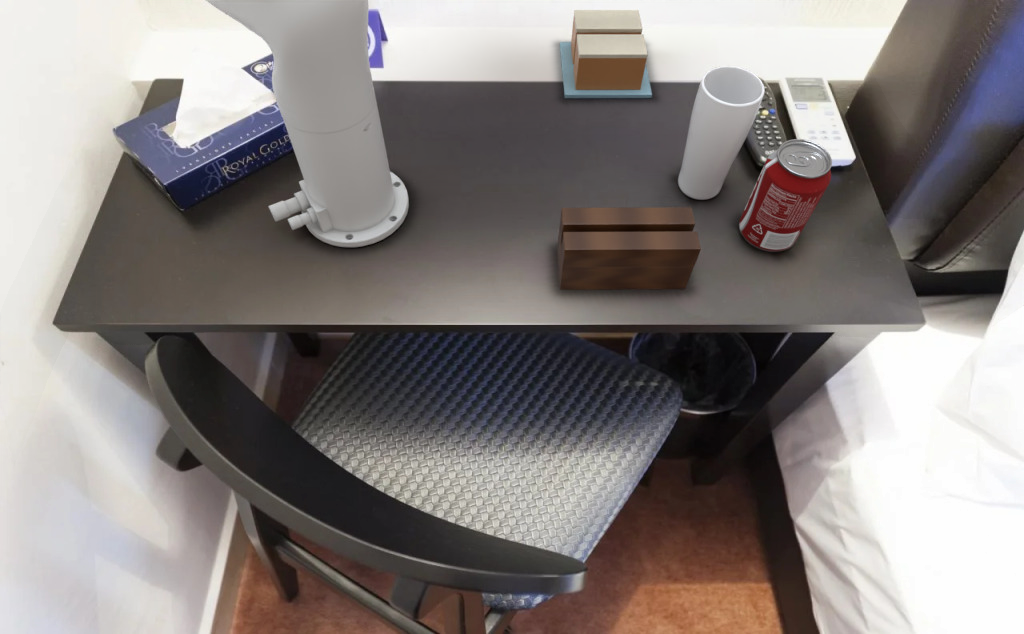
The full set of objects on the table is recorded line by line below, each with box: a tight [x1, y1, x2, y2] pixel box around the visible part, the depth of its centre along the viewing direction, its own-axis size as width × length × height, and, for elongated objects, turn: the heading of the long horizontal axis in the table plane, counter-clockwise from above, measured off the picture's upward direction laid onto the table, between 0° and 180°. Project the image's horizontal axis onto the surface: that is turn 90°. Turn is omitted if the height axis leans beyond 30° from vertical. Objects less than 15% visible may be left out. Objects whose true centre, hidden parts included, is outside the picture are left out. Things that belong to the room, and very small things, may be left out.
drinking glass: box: [677, 65, 766, 201], centre depth 76 cm, size 7×7×15 cm
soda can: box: [738, 138, 833, 253], centre depth 73 cm, size 7×7×12 cm
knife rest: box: [556, 206, 702, 291], centre depth 72 cm, size 14×6×7 cm, turn 91°
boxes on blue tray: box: [559, 9, 653, 99], centre depth 92 cm, size 12×12×6 cm
